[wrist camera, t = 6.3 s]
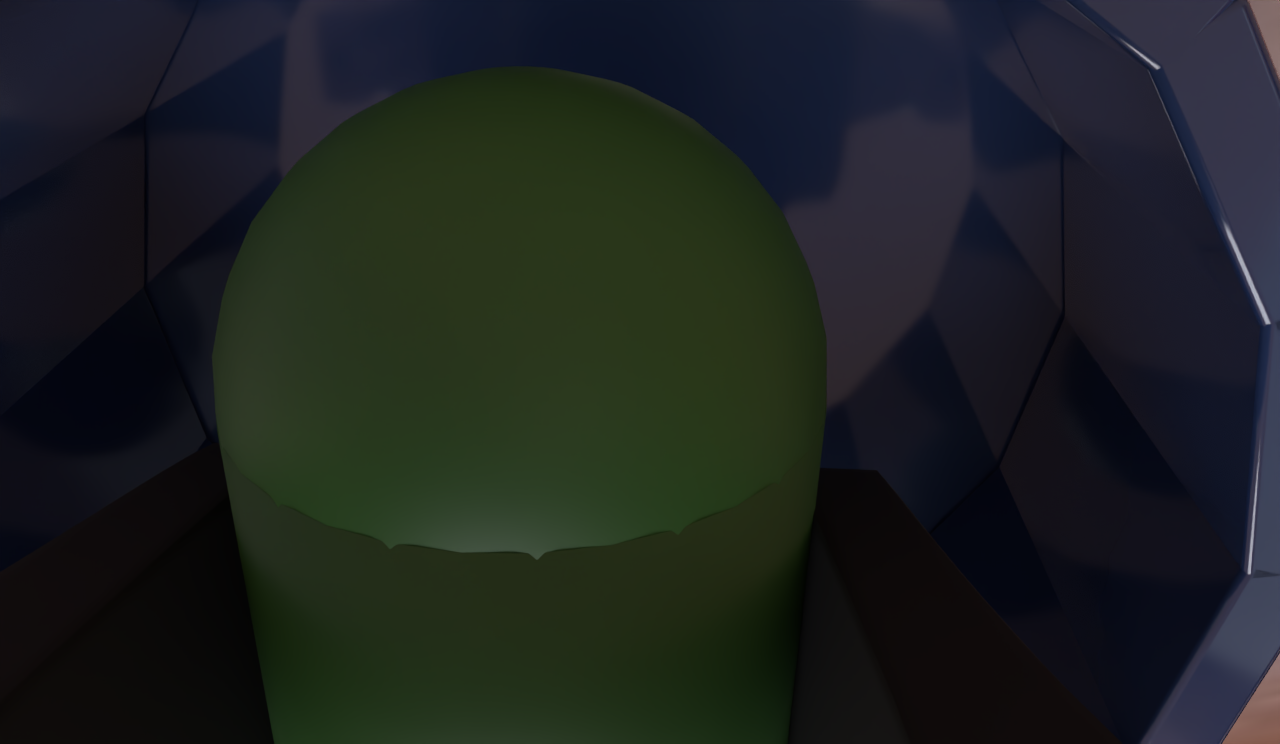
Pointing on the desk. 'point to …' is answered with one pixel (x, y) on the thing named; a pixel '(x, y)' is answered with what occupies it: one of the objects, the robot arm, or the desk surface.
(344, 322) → the cucumber
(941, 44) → the crock
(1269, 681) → the desk surface
